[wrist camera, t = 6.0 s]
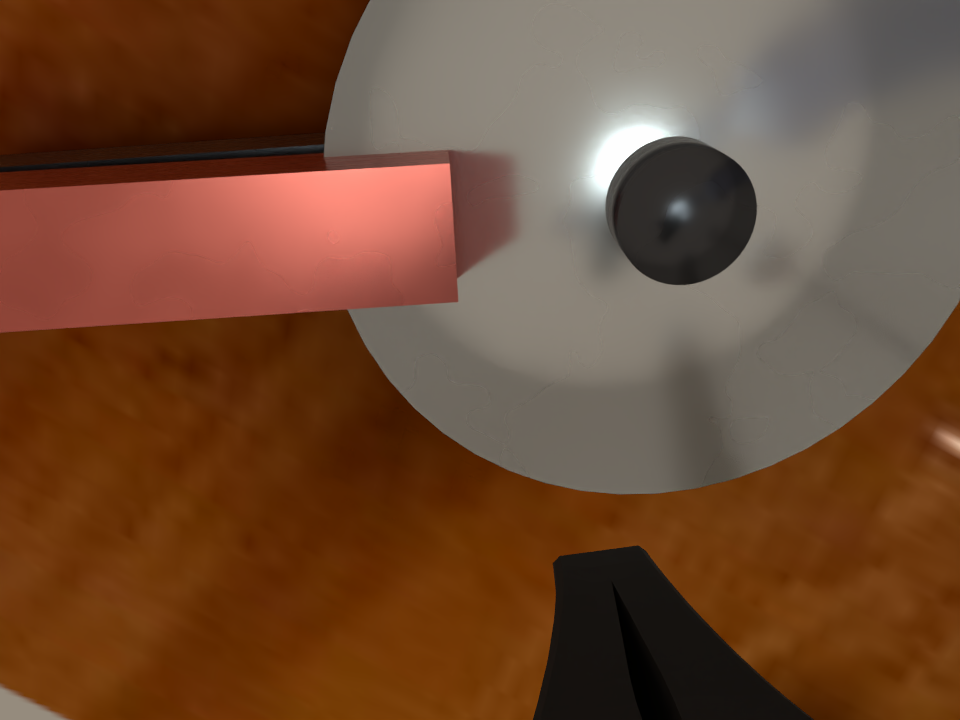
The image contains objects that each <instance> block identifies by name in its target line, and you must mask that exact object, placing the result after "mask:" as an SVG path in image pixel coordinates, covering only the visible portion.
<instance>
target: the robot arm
mask: <svg viewBox="0 0 960 720" xmlns="http://www.w3.org/2000/svg"><path fill="white" fill-rule="evenodd" d="M553 568H554V577H555V587H556V604H555V616H554V624H553V631H552V637H551V644H550V650H549V656H548V661H547V666H546V670H545V674H544V679H543V683H542V687H541V691H540V695H539V700H538V704H537V707H536V711H535V714H534V718H533V720H814V719H812V718H811V717H810V716H809V715H807V714H806V713H805V712H803V711H802V710H801V709H800V708H798V707H797V706H796V705H795V704H793V703H792V702H791V701H790V700H788V699H787V698H786V697H785V696H784V695H783V694H781V693H780V692H779V691H778V690H777V689H775V688H774V687H773V686H772V685H771V684H770V683H769V682H767V681H766V680H765V679H764V678H763V677H762V676H761V675H760V674H759V673H757V672H756V671H755V670H754V669H753V668H752V667H751V666H750V665H749V664H748V663H747V662H745V661H744V660H743V659H742V658H741V657H740V656H739V655H738V654H737V653H736V652H735V651H734V650H733V649H732V648H731V647H730V646H729V645H728V644H727V643H726V642H725V641H724V640H723V639H722V638H721V637H720V636H719V635H718V634H717V633H716V632H715V631H714V630H713V629H712V628H711V627H710V626H709V625H708V624H707V623H706V622H705V621H704V620H703V619H702V617H701V616H700V615H699V614H698V613H697V612H696V611H695V610H694V609H693V608H692V607H691V606H690V605H689V603H688V602H687V601H686V600H685V599H684V598H683V597H682V595H681V594H680V593H679V592H678V591H677V590H676V589H675V587H674V586H673V585H672V584H671V583H670V581H669V580H668V579H667V578H666V577H665V575H664V574H663V573H662V572H661V570H660V569H659V568H658V567H657V565H656V564H655V563H654V561H653V560H652V559H651V558H650V556H649V555H648V553H647V552H646V551H645V550H644V549H642V548H641V547H640V546H632V547H624V548H617V549H609V550H602V551H594V552H587V553H579V554H572V555H564V556H559V557H558V559H557V560H556V561H555V562H554V563H553Z"/></svg>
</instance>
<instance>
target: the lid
mask: <svg viewBox="0 0 960 720" xmlns="http://www.w3.org/2000/svg"><path fill="white" fill-rule="evenodd" d="M959 300H960V0H370V1H369V3H368V5H367V7H366V9H365V11H364V13H363V15H362V17H361V19H360V21H359V23H358V25H357V27H356V29H355V31H354V33H353V35H352V38H351V40H350V43H349V46H348V49H347V52H346V55H345V58H344V61H343V63H342V66H341V69H340V72H339V75H338V78H337V81H336V83H335V88H334V93H333V98H332V103H331V107H330V112H329V117H328V122H327V127H326V132H325V145H324V153H318V154H301V155H284V156H267V157H251V158H234V159H217V160H200V161H184V162H167V163H150V164H134V165H117V166H100V167H83V168H67V169H50V170H33V171H16V172H0V332H14V331H29V330H45V329H60V328H75V327H90V326H105V325H120V324H135V323H150V322H165V321H180V320H195V319H210V318H225V317H240V316H256V315H271V314H286V313H301V312H316V311H331V310H346V309H347V310H348V312H349V314H350V316H351V318H352V320H353V322H354V324H355V326H356V328H357V330H358V332H359V334H360V336H361V338H362V340H363V342H364V344H365V346H366V347H367V349H368V350H369V352H370V353H371V355H372V356H373V357H374V359H375V360H376V362H377V363H378V365H379V366H380V368H381V369H382V371H383V372H384V374H385V375H386V377H387V378H388V379H389V381H390V382H391V383H392V384H393V385H394V386H395V387H396V388H397V389H398V391H399V392H400V393H401V394H402V395H403V396H404V397H405V398H406V400H407V401H408V402H409V403H410V404H411V405H412V406H413V407H414V408H415V409H416V410H417V411H418V412H419V413H420V414H422V415H423V416H424V417H425V418H426V419H427V420H429V421H430V422H431V423H432V424H433V425H434V426H436V427H437V428H438V429H439V430H440V431H441V432H443V433H444V434H445V435H447V436H448V437H450V438H451V439H453V440H454V441H456V442H458V443H459V444H461V445H462V446H464V447H465V448H467V449H468V450H470V451H471V452H473V453H474V454H476V455H478V456H480V457H482V458H484V459H486V460H488V461H490V462H492V463H495V464H497V465H499V466H501V467H503V468H505V469H507V470H509V471H512V472H515V473H518V474H520V475H523V476H526V477H529V478H532V479H535V480H538V481H541V482H544V483H548V484H553V485H557V486H562V487H567V488H571V489H576V490H581V491H590V492H601V493H612V494H654V493H664V492H672V491H679V490H687V489H695V488H699V487H703V486H707V485H711V484H715V483H720V482H724V481H728V480H732V479H735V478H738V477H741V476H743V475H746V474H749V473H752V472H755V471H757V470H760V469H763V468H766V467H769V466H771V465H773V464H775V463H777V462H779V461H781V460H783V459H786V458H788V457H790V456H792V455H794V454H796V453H798V452H800V451H802V450H804V449H806V448H808V447H810V446H811V445H813V444H814V443H816V442H818V441H819V440H821V439H823V438H824V437H826V436H827V435H829V434H831V433H832V432H834V431H836V430H837V429H839V428H840V427H842V426H843V425H844V424H846V423H847V422H848V421H850V420H851V419H852V418H854V417H855V416H856V415H858V414H859V413H860V412H861V411H863V410H864V409H865V408H867V407H868V406H869V405H871V404H872V403H873V402H874V401H875V400H876V399H877V398H879V397H880V396H881V395H882V394H883V393H884V392H885V391H886V390H887V389H888V388H889V387H890V386H891V385H892V384H893V383H894V382H895V381H897V380H898V379H899V378H900V377H901V376H902V375H903V374H904V373H905V372H906V371H907V369H908V368H909V367H910V366H911V365H912V364H913V362H914V361H915V360H916V359H917V358H918V357H919V355H920V354H921V353H922V352H923V351H924V350H925V349H926V347H927V346H928V345H929V344H930V343H931V342H932V340H933V339H934V337H935V336H936V334H937V333H938V332H939V330H940V329H941V327H942V326H943V324H944V323H945V321H946V320H947V319H948V317H949V316H950V314H951V313H952V311H953V310H954V308H955V307H956V305H957V304H958V302H959Z"/></svg>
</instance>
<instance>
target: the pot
mask: <svg viewBox="0 0 960 720" xmlns="http://www.w3.org/2000/svg"><path fill="white" fill-rule="evenodd" d="M324 145H325V133H312V134H297V135H283V136H269V137H254V138H240V139H226V140H211V141H197V142H183V143H168V144H154V145H140V146H125V147H111V148H97V149H82V150H68V151H53V152H39V153H25V154H10V155H0V172H16V171H33V170H50V169H67V168H83V167H100V166H117V165H134V164H150V163H167V162H184V161H200V160H217V159H234V158H251V157H267V156H284V155H301V154H318V153H324Z"/></svg>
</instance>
